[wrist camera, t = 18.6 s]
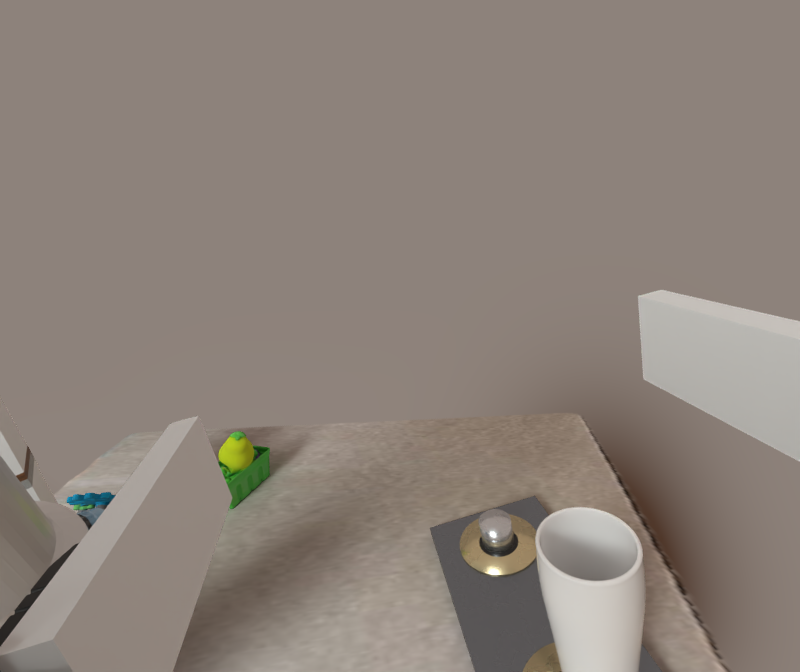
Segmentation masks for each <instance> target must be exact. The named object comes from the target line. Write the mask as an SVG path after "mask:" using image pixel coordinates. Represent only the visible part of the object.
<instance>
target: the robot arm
mask: <svg viewBox="0 0 800 672" xmlns="http://www.w3.org/2000/svg"><path fill="white" fill-rule="evenodd" d="M638 304H639V318H640V333H641V350H642V365H643V379H644V380H646V381H648V382H650V383H652V384H654V385H656V386H657V387H659V388H661V389H663V390H665V391H667V392H669V393H671V394H673V395H675V396H676V397H678V398H681V399H682V400H684V401H686V402H688V403H690V404H692V405H693V406H695V407H697V408H699V409H701V410H703V411H705V412H707V413H709V414H711V415H712V416H714V417H716V418H718V419H720V420H722V421H724V422H726V423H728V424H729V425H731V426H733V427H735V428H737V429H739V430H741V431H743V432H745V433H746V434H748V435H750V436H752V437H754V438H756V439H758V440H760V441H762V442H764V443H765V444H767V445H769V446H771V447H773V448H775V449H777V450H779V451H781V452H782V453H784V454H786V455H788V456H790V457H792V458H794V459H796V460H798V461H800V322H799V321H795V320H791V319H786V318H782V317H777V316H773V315H769V314H765V313H761V312H756V311H752V310H747V309H743V308H738V307H734V306H730V305H725V304H721V303H717V302H713V301H708V300H704V299H700V298H695V297H691V296H686V295H682V294H677V293H673V292H669V291H665V290H659V291H655V292H651V293H648V294H644V295H641V296H638ZM231 501H232V495H231V493H230V490H229V488H228V486H227V483H226V481H225V478H224V476H223V473H222V471H221V468H220V466H219V464H218V461H217V459H216V456H215V454H214V451H213V449H212V446H211V444H210V442H209V439H208V437H207V434H206V432H205V429H204V427H203V425H202V422H201V420H200V417H199V416H195V417H191V418H188V419H184V420H180V421H177V422H173V423H170V425H169V426H168V427H167V429H166V430H165V431H164V433H163V434H162V435H161V437H160V438H159V439H158V441H157V442H156V443H155V444H154V446H153V447H152V448H151V450H150V451H149V452H148V454H147V455H146V456H145V458H144V459H143V460H142V462H141V463H140V464H139V465H138V467H137V468H136V469H135V471H134V472H133V473H132V475H131V476H130V477H129V479H128V480H127V481H126V483H125V484H124V485H123V486H122V488H121V489H120V490H119V492H118V493H117V494H116V496H115V497H114V498H113V500H112V501H111V502H110V504H109V505H108V506H107V507H106V509H105V510H104V509H101V508H93V509H91V510H89V511H82V512H79V513H77V514H76V513H75V512H74V511H73V510H71V509H69V508H68V507H66V506H63V505H60V504H57V503H51V502H45V501H34V500H33V498H32V497H31V496H30V494H29V493H28V492H27V490H26V489H25V488H24V486H23V485H22V484H21V482H20V481H19V480H18V478H17V477H16V476H15V474H14V473H13V472H12V470H11V469H10V468H9V466H8V465H7V464H6V462H5V461H4V460H3V458H2V457H1V456H0V672H173V670H174V667H175V664H176V661H177V658H178V655H179V652H180V649H181V646H182V643H183V640H184V638H185V635H186V632H187V629H188V626H189V623H190V620H191V617H192V614H193V611H194V608H195V606H196V603H197V600H198V597H199V594H200V591H201V588H202V585H203V582H204V579H205V577H206V574H207V571H208V568H209V565H210V562H211V559H212V556H213V553H214V550H215V547H216V545H217V542H218V539H219V536H220V533H221V530H222V527H223V524H224V521H225V518H226V515H227V513H228V510H229V507H230V504H231Z"/></svg>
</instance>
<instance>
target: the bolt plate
mask: <svg viewBox="0 0 800 672" xmlns="http://www.w3.org/2000/svg"><path fill="white" fill-rule="evenodd" d="M547 516H549V515H548V514H547V512H546V511H545V509H544V508H543V507H542V505H541V504H540V503H539V501H538V500H537V498H536V497H535V496H533V497H530V498H526V499H523V500H520V501H517V502H513V503H510V504H507V505H504V506H500V507H497V508H494V509H491V510H487V511H484V512H481V513H477V514H474V515H471V516H468V517H464V518H461V519H458V520H455V521H451V522H448V523H445V524H442V525H438V526H435V527H432V528H430V530H431V534H432V537H433V540H434V544H435V547H436V550H437V553H438V556H439V559H440V563H441V566H442V569H443V572H444V575H445V578H446V582H447V585H448V588H449V591H450V594H451V597H452V601H453V604H454V607H455V610H456V613H457V616H458V619H459V623H460V626H461V629H462V632H463V635H464V638H465V642H466V645H467V648H468V651H469V654H470V657H471V661H472V664H473V667H474V670H475V672H561V667H560V663H559V659H558V655H557V651H556V647H555V643H554V639H553V635H552V631H551V627H550V623H549V619H548V616H547V612H546V608H545V604H544V600H543V596H542V592H541V587H540V581H539V575H538V567H537V557H536V544H535V537H536V532H537V529H538V527H539V525H540V524H541V522H542V521H543V520H544V519H545V518H546V517H547ZM639 672H662V671H661V669H660V668H659V667H658V665H657V664H656V663H655V661H654V660H653V658H652V657H651V656H650V654H649V653H648V652H647V650H646V649H645V647H644V646H643V645H641V655H640V666H639Z"/></svg>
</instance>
